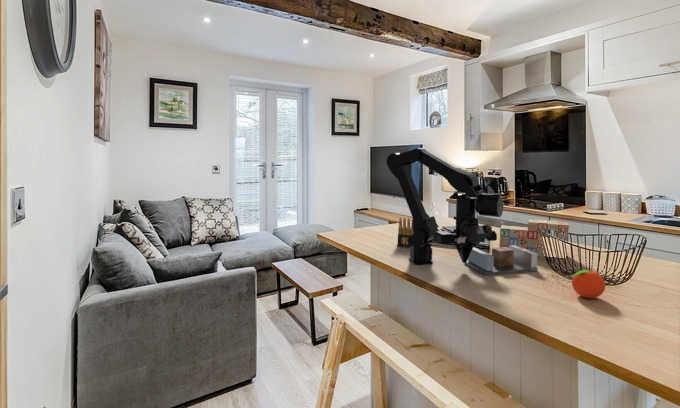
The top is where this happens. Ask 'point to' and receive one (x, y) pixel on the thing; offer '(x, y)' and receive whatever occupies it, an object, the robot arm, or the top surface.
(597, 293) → the clementine
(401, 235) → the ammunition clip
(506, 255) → the walnut block
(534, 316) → the top surface
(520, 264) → the vise base
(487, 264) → the plate
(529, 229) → the stack of blocks
